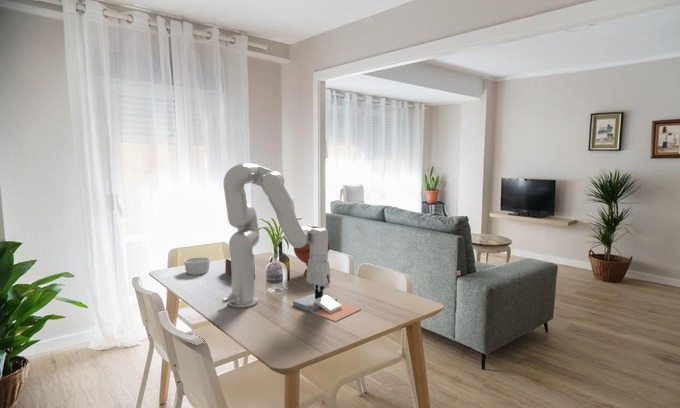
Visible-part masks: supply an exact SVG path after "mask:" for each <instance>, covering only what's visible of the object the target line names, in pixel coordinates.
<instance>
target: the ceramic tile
mask: <svg viewBox="0 0 680 408" xmlns="http://www.w3.org/2000/svg"><path fill="white" fill-rule="evenodd" d="M329 296H330V295H328V294H325V296H323V297H320V298H317V299H315V303H316V304H318V305H319V306H321V307H322V308H323V309H325V310H326V311H328V312H329V313H332V312H334V311H336V310H339V309H341V308H342V305H341V304H340V303H338V302H339V301H338V300H337V301H335V300H334V299H332V298H331V297H332V296H331V297H329Z"/></svg>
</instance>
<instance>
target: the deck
mask: <svg viewBox="0 0 680 408" xmlns="http://www.w3.org/2000/svg"><path fill="white" fill-rule="evenodd" d="M325 295H326V294H325V293H323V296H325ZM328 296H329V297H331V298H332V299H334V300H335V301H337V302H338V298H337V297H335V296H331V295H328ZM292 306H293V307H296V308H298V309H302V310H304V311H307V312H309V313H312V314H313V313H314V312H316V311H319V310H321V309H323V308H322V307H321V306H319V305H318V304H316V303H315V292H314V293H312V294H308V295H306V296H302V297H300V298H297V299H295V300H293V301H292Z"/></svg>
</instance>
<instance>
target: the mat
mask: <svg viewBox="0 0 680 408" xmlns="http://www.w3.org/2000/svg"><path fill="white" fill-rule="evenodd" d="M337 302H338V303H340V304H341V305H342V308H341V309H339V310H336V311H334V312H332V313H329V312H328V311H326V310H325V309H321V310H319V311H316V312H314V313H312V314H313V315H315V316H319V317H320V318H324V319H327V320H329V321H331V322H335V323H336V322H339V321H340V320H344V319H345V318H347V317H349V316H352V315H353V314H355V313H357V312H360V311H361V310H362V309H361V308H359V307H356V306H352V305H349V304H346V303H343V302H341V301H337Z"/></svg>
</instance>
